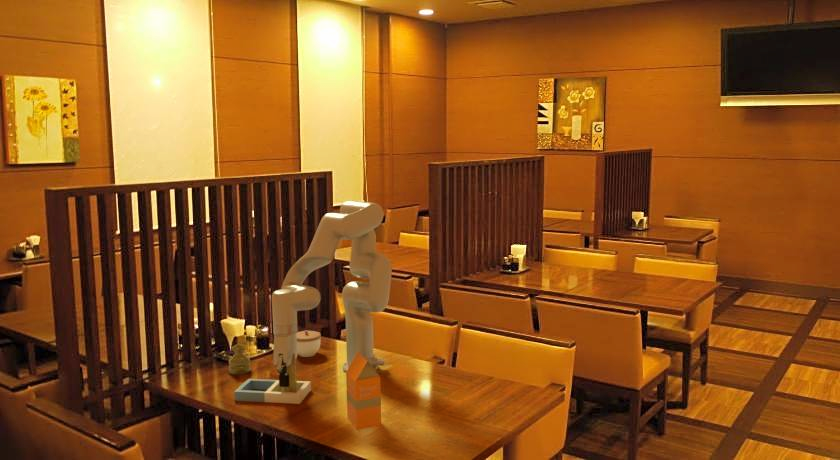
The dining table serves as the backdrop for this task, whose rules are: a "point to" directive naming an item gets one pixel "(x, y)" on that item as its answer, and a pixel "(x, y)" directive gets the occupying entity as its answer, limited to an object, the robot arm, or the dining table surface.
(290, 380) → the vase
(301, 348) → the lidded jar
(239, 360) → the olive bulbous piece
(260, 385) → the pocket rack
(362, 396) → the orange juice
